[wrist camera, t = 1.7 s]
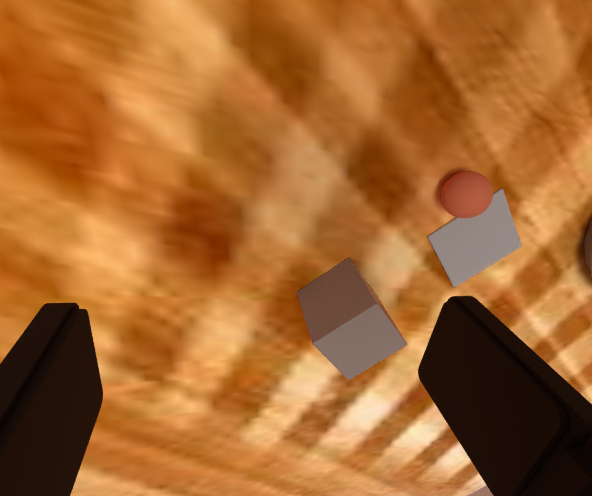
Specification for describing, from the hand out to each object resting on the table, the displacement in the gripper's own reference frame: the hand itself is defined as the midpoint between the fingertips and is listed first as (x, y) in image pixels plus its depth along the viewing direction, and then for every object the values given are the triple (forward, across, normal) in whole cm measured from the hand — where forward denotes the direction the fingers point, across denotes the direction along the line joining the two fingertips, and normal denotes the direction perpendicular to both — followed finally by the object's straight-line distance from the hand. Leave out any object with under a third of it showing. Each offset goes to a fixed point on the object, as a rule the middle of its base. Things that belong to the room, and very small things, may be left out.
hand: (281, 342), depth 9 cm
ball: (+24, -24, +3) cm, 34 cm away
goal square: (+26, -30, +10) cm, 41 cm away
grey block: (+27, -14, +18) cm, 35 cm away
